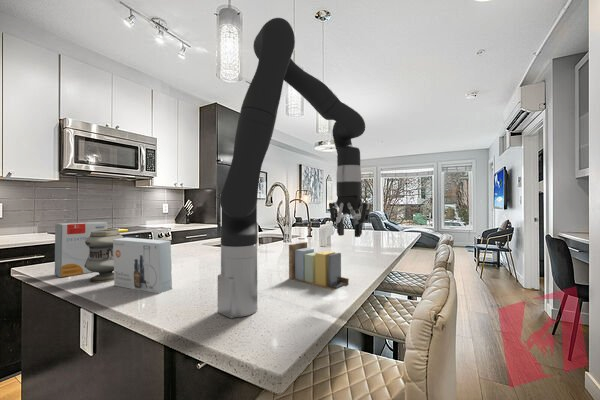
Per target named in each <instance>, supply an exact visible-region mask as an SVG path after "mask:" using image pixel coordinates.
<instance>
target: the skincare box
mask: <svg viewBox="0 0 600 400" xmlns="http://www.w3.org/2000/svg"><path fill="white" fill-rule="evenodd" d="M171 245H172V240H164V239H163V240H162V239H152V238H151V239H149V238H139V237H138V238H136V237H127V236H125V237H124V238H120V239H114V240H113V254H114V271H113V273H114V280H113V284H114V286H115V287H120V288H127V289H132V290H135V291H137V290H138V291H143V292H148V293H155V294H163V293H165V292H167V291H171V290H173V278H172V277H173V276H172V275H173V274H172V270H173V268H172V246H171ZM162 292H163V293H162Z"/></svg>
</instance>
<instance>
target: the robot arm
mask: <svg viewBox="0 0 600 400" xmlns="http://www.w3.org/2000/svg"><path fill="white" fill-rule="evenodd" d="M252 47H253V52H254V54H255V56H256V58H257V59H258V63H257V68H256V70H255V72H254V74H253V78H252V80H250V81H251V82H250V83H249V86H248V88H247V91H246V94H245V95H244V98H243V101H242V103H241V107H240V108H241V109H240V112H239V115H238V120H237V125H236V131H235V137H234V145H233V151H232V152H233V153H232V159H231V162H230V166H229V169H228V173H227V176H226V179H225V181H224V184H223V187H222V189H221V192H220V193H219V194H220V195H219V204H220V208H221V230H220V231H221V232H220V274H217V313H218V314H220V315H223V316H225V317H227V318H229V319H233V318H234V319H235V318H240V317H241V318H242V317H246V316H251V315H252V314H255V313H256V312H257V311H258V224H257V223H258V216H257V215H258V213H257V212H258V192H259V184H260V183H259V182H260V176H261V170H262V167H263V166H262V165H263V163H264V160H265V158H266V155H267V153H268V150H269V146H270V144H271V141H272V138H273V133H274V129H275V125H276V121H277V115H278V112H279V111H278V110H279V106H280V100H281V97H282V93H283V92H282V91H283V86H284V82H286V84H288V85H289V86H291V88H293V89H294V90H295V91H296V92H297V93H298V94H300V95H301V96H302V97H303V99H305V100H306V102H308V103H309V104H310V105H311V107H312V108H313V109H314V110H315V111H316V112H317V113H318V114H319V115H320V116H321V117H322V118H323V119H324V120H327V121H335V122H334V124H333V126H332V132H331V133H332V139H333V142H334V146H335V147H334V148H335V151H336V153H337V156H336V157H337V160H336V161H337V162H336V165H337V167H336V196H337V200H336V201H335V202H328V208H329V214H330V219H331V220H330V221H332V222H334V223H336V233H337V234H338V236H340V237H341V236H344V235H345V223H344V221H345V219H346V217H347V216H348V215H350V216H351V218H352V219H353V222H354V237H355V238H360V237H361V236H362V234H363V232H362V231H363V224H364V223H368V221H369V218H370V217H369V216H370V213H371V212H370V211H371V206H372V205H371V202H364V201H363V200H362V198H361V197H362V170H361V169H362V168H361V150H360V148H359V147H357V146H354V145H353V143H352V139H356V138H359V137H360V136H362V135H363V134H364V133H365V131H366V122H365V120H364V118H363V116H362V115H361V114H360V113H359V112H358V111H357V110H355V109H354V108H353V107H351V106H349V105H348V104H346V103H345V102H343V101H342V100H341V99H340V98H339V97H338V95H336V93H335V92H334V91H333V89H331V88H330V87H329V85H328V84H326V83H325V82H324V81H322V80H321V78H320V79H319V78H318V77H316V76H314V75H313V74H311V73H309V72H308V71H306V70H304V69H303V68H302V67H300V66H299V65H298V64H297V63H296V61H294V60H293V58H292V55H293V53H294V50H295V47H296V34H295V31H294V28H293V27H292V25H291V24H290V22H289V21H288V20H286V19H285V18H282V17H274V18H272V19H269V20H268V21H266V22H265V23H264V24H263V26H261V29H260V30H259V31H258V33H257V35H256V36H255V38H254V40H253V46H252ZM360 208H361V211H360Z"/></svg>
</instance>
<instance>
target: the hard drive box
mask: <svg viewBox="0 0 600 400" xmlns="http://www.w3.org/2000/svg"><path fill="white" fill-rule="evenodd" d="M101 229H108V222H106V221H105V222H104V221H87V222H86V221H85V222H83V221H81V222H64V223H60V222H59V223H55V225H54V235H55V236H54V275H55V276H57V277H58V278H63V277H64V278H65V277H73V276H77V275H82V274H89V273H93V272H92V271H89V270H88V269H87V268H86V266H85V264H86V262H87V261H88V260H89V257H90V253H89V246H87V245H86V244H85V241H86V239H87V238H88V237H90V234H91V231H93V230H101Z"/></svg>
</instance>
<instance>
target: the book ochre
mask: <svg viewBox="0 0 600 400" xmlns="http://www.w3.org/2000/svg"><path fill="white" fill-rule="evenodd" d="M317 252H318V251H317ZM335 253H336V252H335V251H330V250H324V251H319V252H318V253H315V281H316V284H319V285H323V286H327V285H328V255H331V254H335Z"/></svg>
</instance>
